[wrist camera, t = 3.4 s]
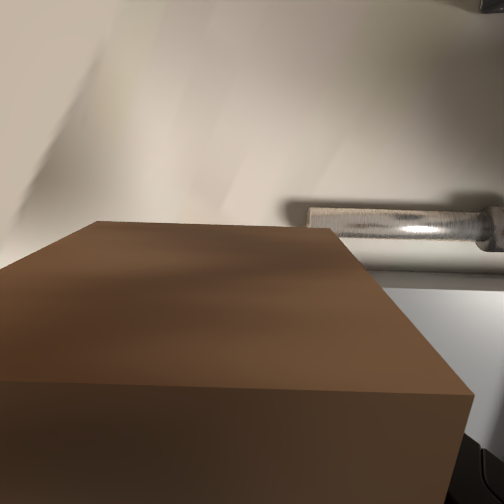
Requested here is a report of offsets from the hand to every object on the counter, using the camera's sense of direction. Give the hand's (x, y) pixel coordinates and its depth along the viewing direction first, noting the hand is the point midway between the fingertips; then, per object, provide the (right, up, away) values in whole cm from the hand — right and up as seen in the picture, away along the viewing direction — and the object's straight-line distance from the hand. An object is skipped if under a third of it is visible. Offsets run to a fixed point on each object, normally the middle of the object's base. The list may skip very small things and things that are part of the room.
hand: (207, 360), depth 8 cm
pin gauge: (+9, +4, +11) cm, 15 cm away
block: (0, 0, +1) cm, 2 cm away
